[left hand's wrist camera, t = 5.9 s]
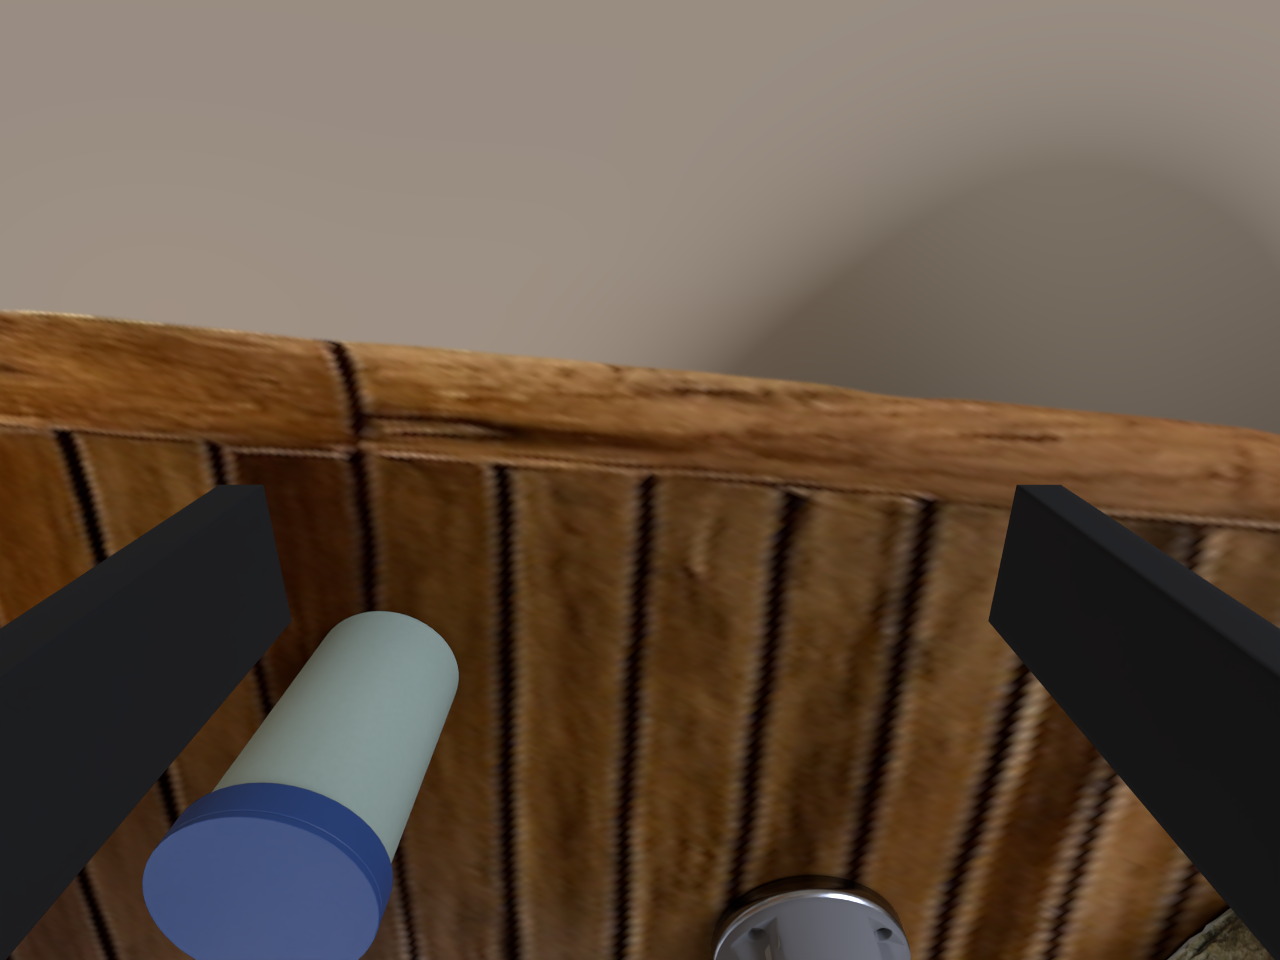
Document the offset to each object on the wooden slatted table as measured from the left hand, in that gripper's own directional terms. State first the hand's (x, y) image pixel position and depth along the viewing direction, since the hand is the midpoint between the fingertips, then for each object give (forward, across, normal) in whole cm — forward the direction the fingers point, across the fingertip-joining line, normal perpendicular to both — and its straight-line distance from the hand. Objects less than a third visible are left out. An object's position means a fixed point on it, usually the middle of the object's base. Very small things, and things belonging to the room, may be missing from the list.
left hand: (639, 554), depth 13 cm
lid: (+11, +17, +23) cm, 31 cm away
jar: (+28, +17, +23) cm, 40 cm away
